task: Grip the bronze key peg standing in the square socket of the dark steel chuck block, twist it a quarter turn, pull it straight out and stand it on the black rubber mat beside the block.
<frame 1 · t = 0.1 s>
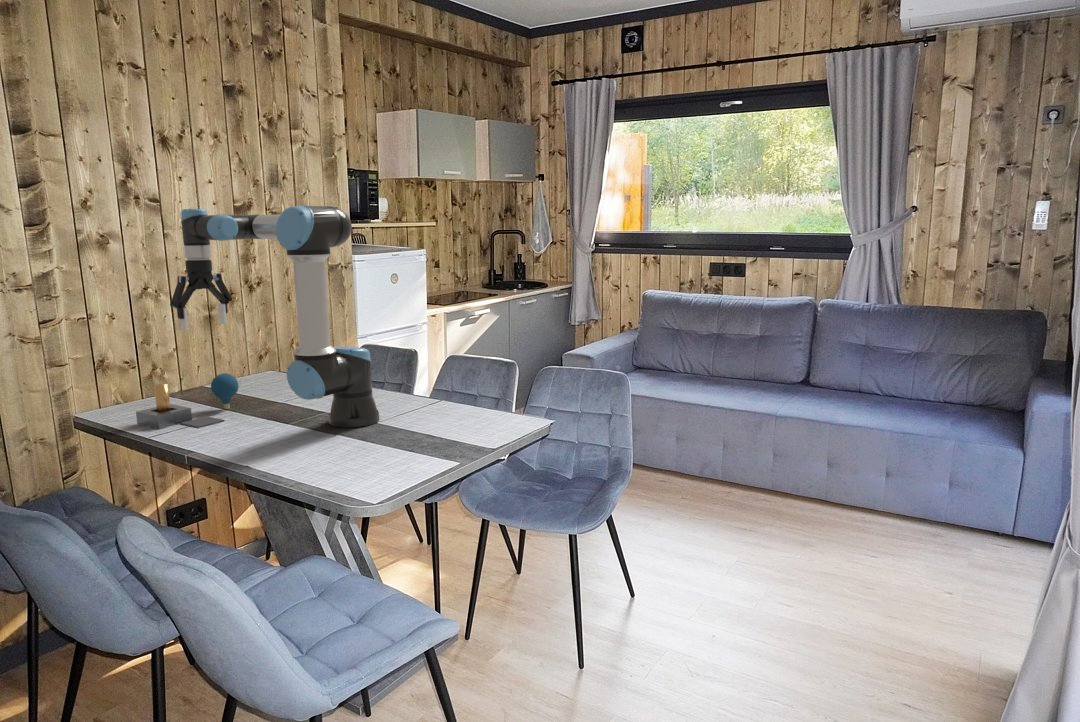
hand: (204, 326, 240), 28 cm above the table, fingers open, 13 cm apart
light bulb: (226, 409, 249), on the table
key: (163, 403, 232), in the chuck block
chuck block: (165, 422, 233), on the table
mat: (202, 422, 233), on the table
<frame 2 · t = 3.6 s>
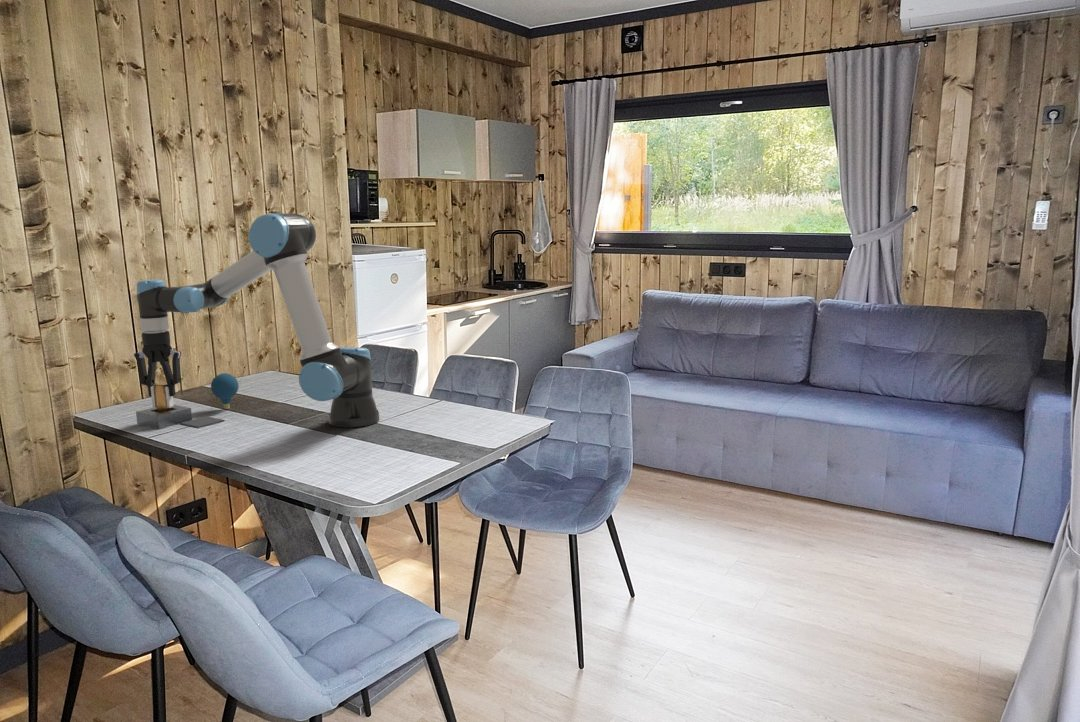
hand: (163, 406, 232), 5 cm above the table, fingers closed on key, 4 cm apart
key: (163, 403, 232), in the chuck block, touching gripper
everything else where it was.
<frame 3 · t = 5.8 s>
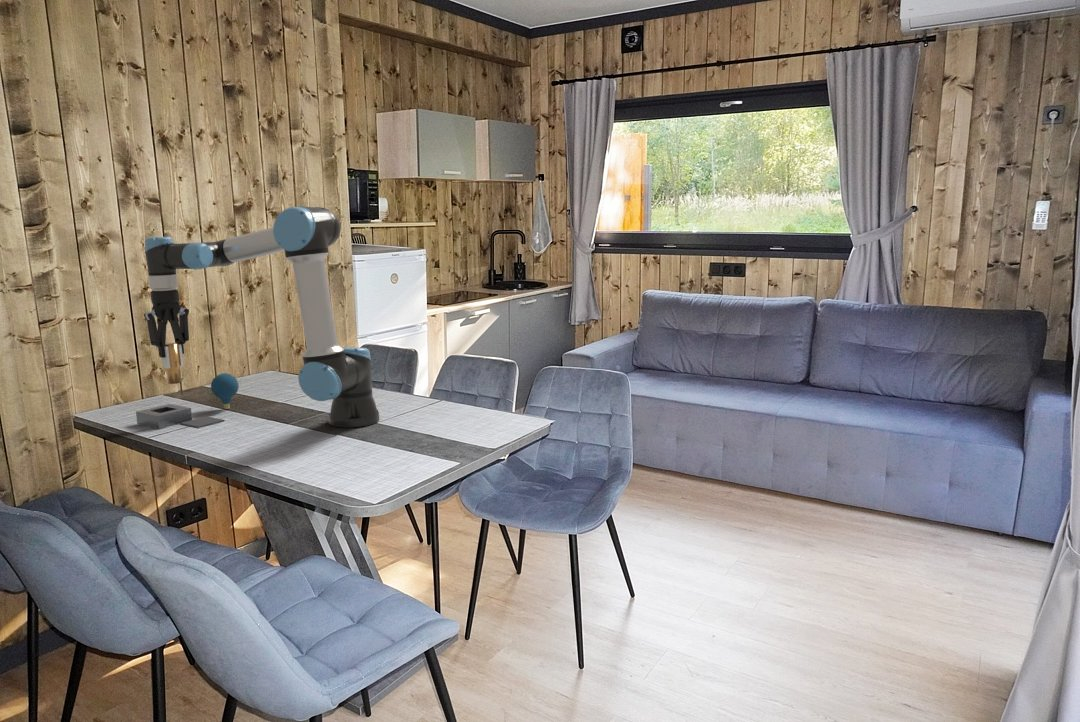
hand: (173, 366, 230), 18 cm above the table, fingers closed on key, 4 cm apart
key: (172, 363, 230), point 19 cm above the table, touching gripper
everything else where it was.
when the fingers open (7 cm above the table, at t = 8.7 s): key drops 1 cm, resting on mat.
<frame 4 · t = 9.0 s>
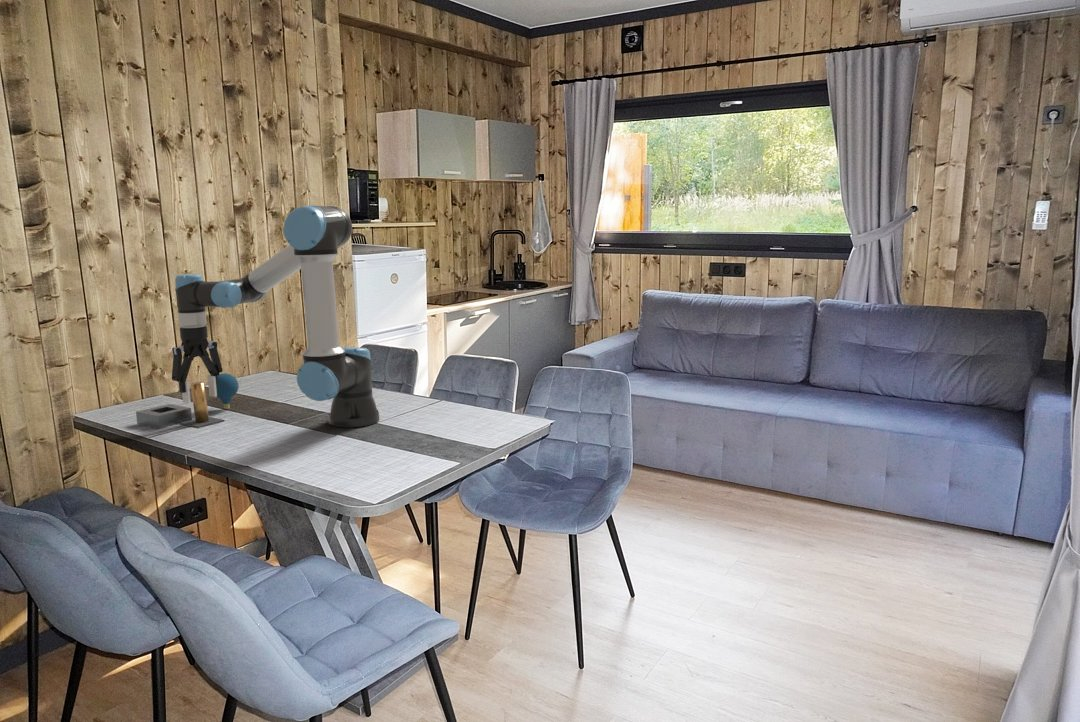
hand: (200, 399, 231), 7 cm above the table, fingers open, 8 cm apart
key: (199, 402, 232), on the mat
everything else where it was.
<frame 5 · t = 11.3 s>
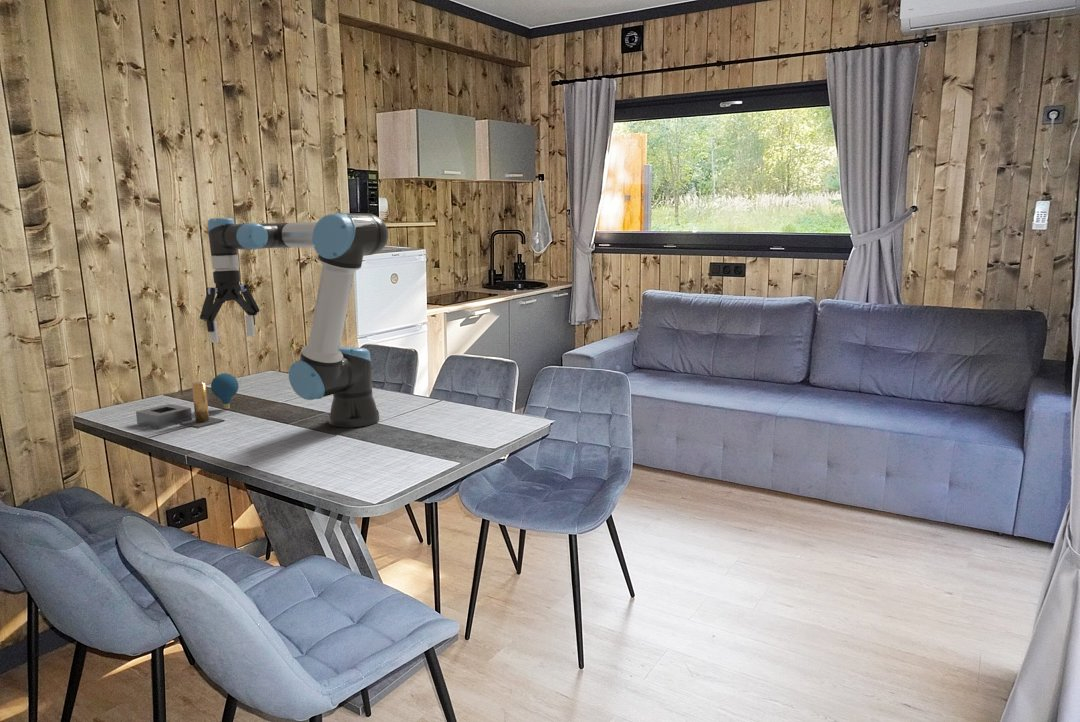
hand: (233, 339, 233), 25 cm above the table, fingers open, 13 cm apart
nothing on the table moved.
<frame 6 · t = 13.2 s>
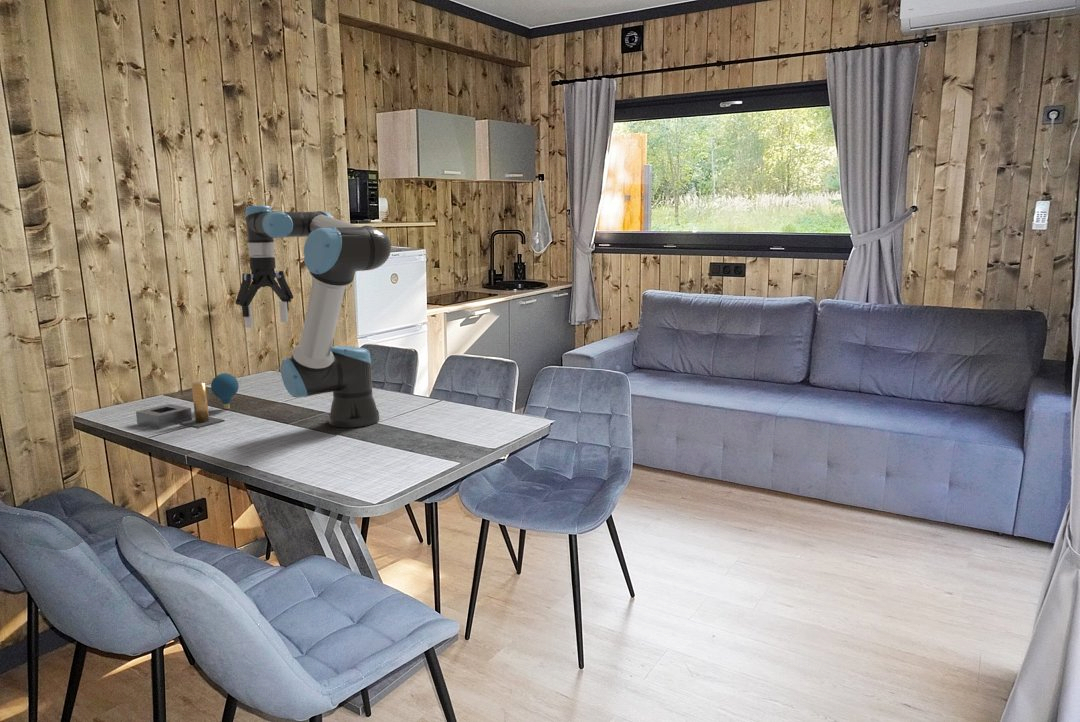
hand: (267, 324, 238), 29 cm above the table, fingers open, 13 cm apart
nothing on the table moved.
at the end: key inside the target area on the mat (0.0 cm from its centre), point 6.4 cm above the mat's base; key tilted 1°; the gripper is holding nothing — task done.
